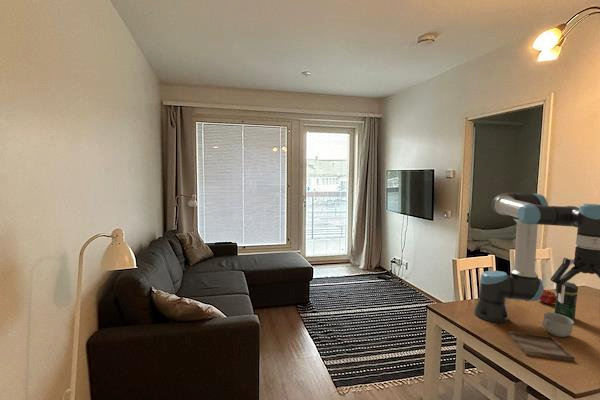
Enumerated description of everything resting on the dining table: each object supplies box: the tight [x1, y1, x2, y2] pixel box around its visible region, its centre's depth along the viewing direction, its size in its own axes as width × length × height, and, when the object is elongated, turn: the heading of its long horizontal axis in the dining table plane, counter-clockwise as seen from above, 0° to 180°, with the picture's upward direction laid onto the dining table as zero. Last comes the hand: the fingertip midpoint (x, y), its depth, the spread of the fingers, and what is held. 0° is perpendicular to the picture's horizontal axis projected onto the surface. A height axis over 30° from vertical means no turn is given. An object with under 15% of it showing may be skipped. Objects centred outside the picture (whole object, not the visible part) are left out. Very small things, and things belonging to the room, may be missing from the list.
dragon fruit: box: [539, 288, 557, 306], centre depth 185 cm, size 8×8×12 cm
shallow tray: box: [508, 330, 575, 363], centre depth 136 cm, size 17×17×2 cm
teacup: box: [541, 312, 575, 338], centre depth 148 cm, size 14×11×8 cm
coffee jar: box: [554, 281, 579, 321], centre depth 165 cm, size 10×8×19 cm
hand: (583, 305), depth 115 cm, fingers open, 13 cm apart
